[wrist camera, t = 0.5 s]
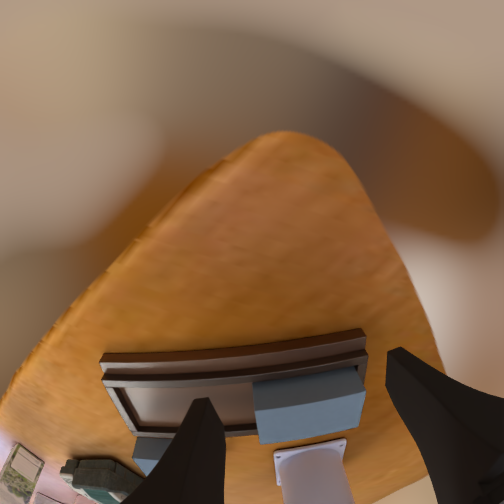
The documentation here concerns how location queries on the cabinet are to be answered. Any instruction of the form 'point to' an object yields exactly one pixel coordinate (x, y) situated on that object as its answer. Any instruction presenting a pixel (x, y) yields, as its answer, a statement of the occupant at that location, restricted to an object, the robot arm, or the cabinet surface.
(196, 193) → the cabinet surface
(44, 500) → the ink cartridge box
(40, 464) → the syrup box
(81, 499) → the smoothie
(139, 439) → the loose pad
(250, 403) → the dark brown wooden tray
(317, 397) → the blue-grey rectangular block
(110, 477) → the communication device
